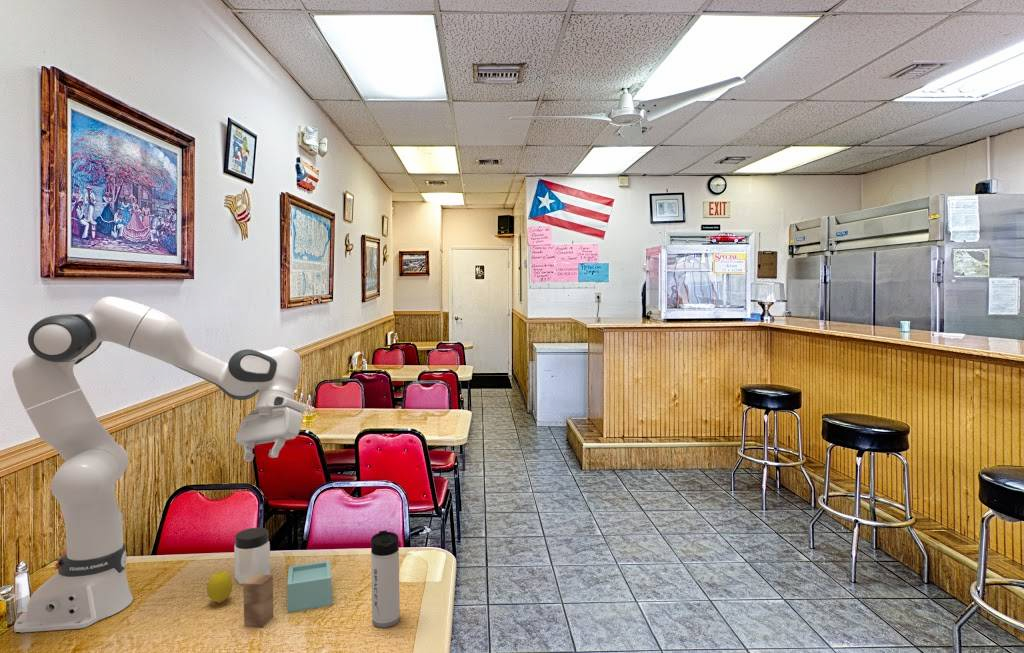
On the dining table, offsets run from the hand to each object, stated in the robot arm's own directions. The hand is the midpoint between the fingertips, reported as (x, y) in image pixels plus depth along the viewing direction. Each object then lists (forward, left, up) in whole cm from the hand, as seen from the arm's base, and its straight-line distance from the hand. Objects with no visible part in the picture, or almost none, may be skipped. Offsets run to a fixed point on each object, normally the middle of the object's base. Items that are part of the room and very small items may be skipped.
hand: (260, 458), depth 143 cm
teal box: (+11, -6, -35) cm, 37 cm away
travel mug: (+28, -22, -35) cm, 50 cm away
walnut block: (0, -13, -35) cm, 37 cm away
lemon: (-10, -1, -35) cm, 36 cm away
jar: (-4, +11, -35) cm, 37 cm away
